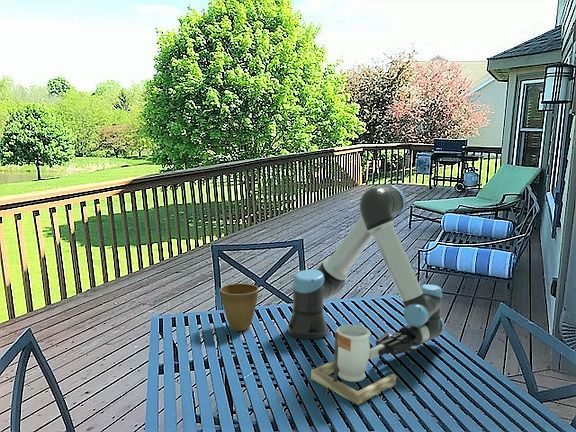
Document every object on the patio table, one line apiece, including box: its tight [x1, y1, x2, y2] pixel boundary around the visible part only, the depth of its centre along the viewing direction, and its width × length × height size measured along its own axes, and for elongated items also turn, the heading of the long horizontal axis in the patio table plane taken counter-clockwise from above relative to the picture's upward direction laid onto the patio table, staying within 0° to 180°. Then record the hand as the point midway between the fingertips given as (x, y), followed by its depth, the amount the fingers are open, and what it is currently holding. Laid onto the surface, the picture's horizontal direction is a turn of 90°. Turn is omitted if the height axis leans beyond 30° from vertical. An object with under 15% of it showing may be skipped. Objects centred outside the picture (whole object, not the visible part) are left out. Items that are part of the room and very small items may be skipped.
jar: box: [335, 324, 371, 383], centre depth 147 cm, size 11×10×15 cm
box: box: [310, 331, 397, 406], centre depth 143 cm, size 18×19×18 cm
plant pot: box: [219, 283, 260, 332], centre depth 185 cm, size 15×15×16 cm
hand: (369, 354), depth 148 cm, fingers closed
